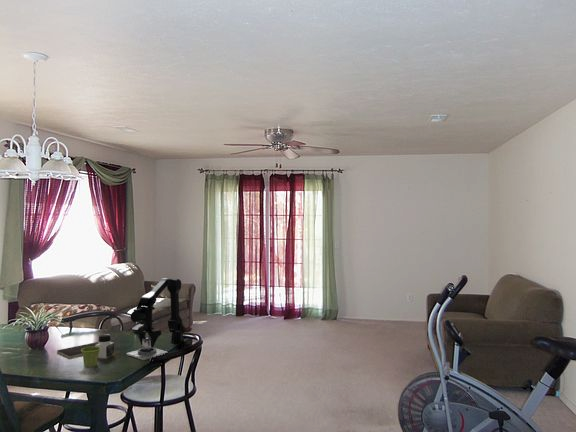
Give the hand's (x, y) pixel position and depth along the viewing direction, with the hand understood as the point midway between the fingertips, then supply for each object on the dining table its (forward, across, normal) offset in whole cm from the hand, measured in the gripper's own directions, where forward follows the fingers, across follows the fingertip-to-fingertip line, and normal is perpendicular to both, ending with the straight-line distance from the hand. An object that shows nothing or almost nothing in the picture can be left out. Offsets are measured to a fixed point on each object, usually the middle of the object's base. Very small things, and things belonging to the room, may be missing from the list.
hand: (147, 346), depth 254 cm
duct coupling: (+3, 0, 0) cm, 3 cm away
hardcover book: (+5, -34, -19) cm, 39 cm away
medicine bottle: (+5, -15, -17) cm, 23 cm away
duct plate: (+4, 0, 0) cm, 4 cm away
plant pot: (+5, -6, -30) cm, 31 cm away
